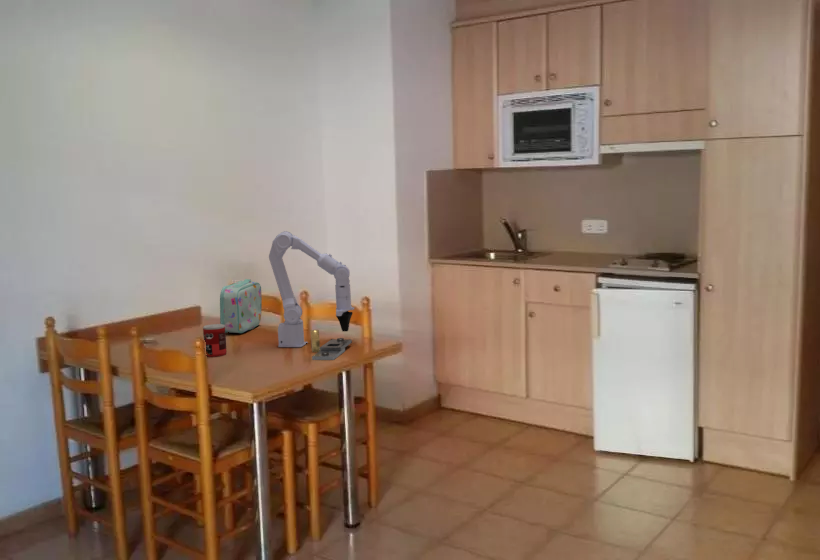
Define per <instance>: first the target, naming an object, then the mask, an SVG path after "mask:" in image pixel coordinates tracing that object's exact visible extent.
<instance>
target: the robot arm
mask: <svg viewBox="0 0 820 560" xmlns="http://www.w3.org/2000/svg"><path fill="white" fill-rule="evenodd" d="M290 247H291V248H290ZM289 248H290V250H299V251H301V252H302V253H304V254H306V255H307V256H308V257H310V258H312V259H313V260H315V261H316V263H317V266H318V267H319V268H321V269H323V271H325V272H326V273H328V274H330V275H333V277H334V279H335V305H336V308H335V316H336V318H337V320H338V322H339V326H340V328H341V332H348V331H349V328H350V323H351V318H352V316H353V310H355V306H352V299H351V298H352V297H351V296H352V295H351V283H350V281H351V280H350V276H351V275H350V269H349V267H348V266H347V265H346V264H343V262H342V261H340V262H339V261H338V260H337V259H335V258H334V257H333V255H332V254H331V253H325V252H324V253H321V252H319V251H318V250H317V249H315V248H314V247H312V246H311V245H310V244H309V243H308V242H307V241H305V240H303V238H300V237H299V236H297V235H295V234H292V233H291V232H290V231H287V230H286V231H285V230H283V231H282V232H280V233H278V234H277V235H276V237H275V238H274V239H273V240H272V243H271V248H270V251H269V254H268V259H269V263H270V265H271V268H272V269H271V270H272V272H273V275H274V278H275V282H276V285H277V288H278V291H279V294H280V297H281V301H282V307H283V318H284V322H280V323H279V324H278V326H277V339H278V340H277V342H278V346H277V347H278V348H302V347H304V346H305V345H306V343H307V344H308V343H309V342H308V341H305V334H304V320H303V319H302V318H301V317H302V315H303V309H302V306H300V304H299V302H297V299H296V297H295V295H294V291H293V287H292V285H291V282H290V281H291V280H290V278H289V275H288V272H287V268H286V265H285V262H284V260H283V257H284V255H285V254H286V251H287V250H288V249H289Z"/></svg>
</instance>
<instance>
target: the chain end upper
mask: <svg viewBox="0 0 820 560" xmlns="http://www.w3.org/2000/svg"><path fill="white" fill-rule="evenodd" d="M352 343H353V342H352V339H350V338H348V339H345V338H343V337H337V338H336V339H334V338H333V339H330V340H329V341H327V342H326V343H324V344H322V345H320V351H341V350H343V349H344V348H345V349H346V348H347V347H348V346H349V345H350V344H352Z"/></svg>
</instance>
